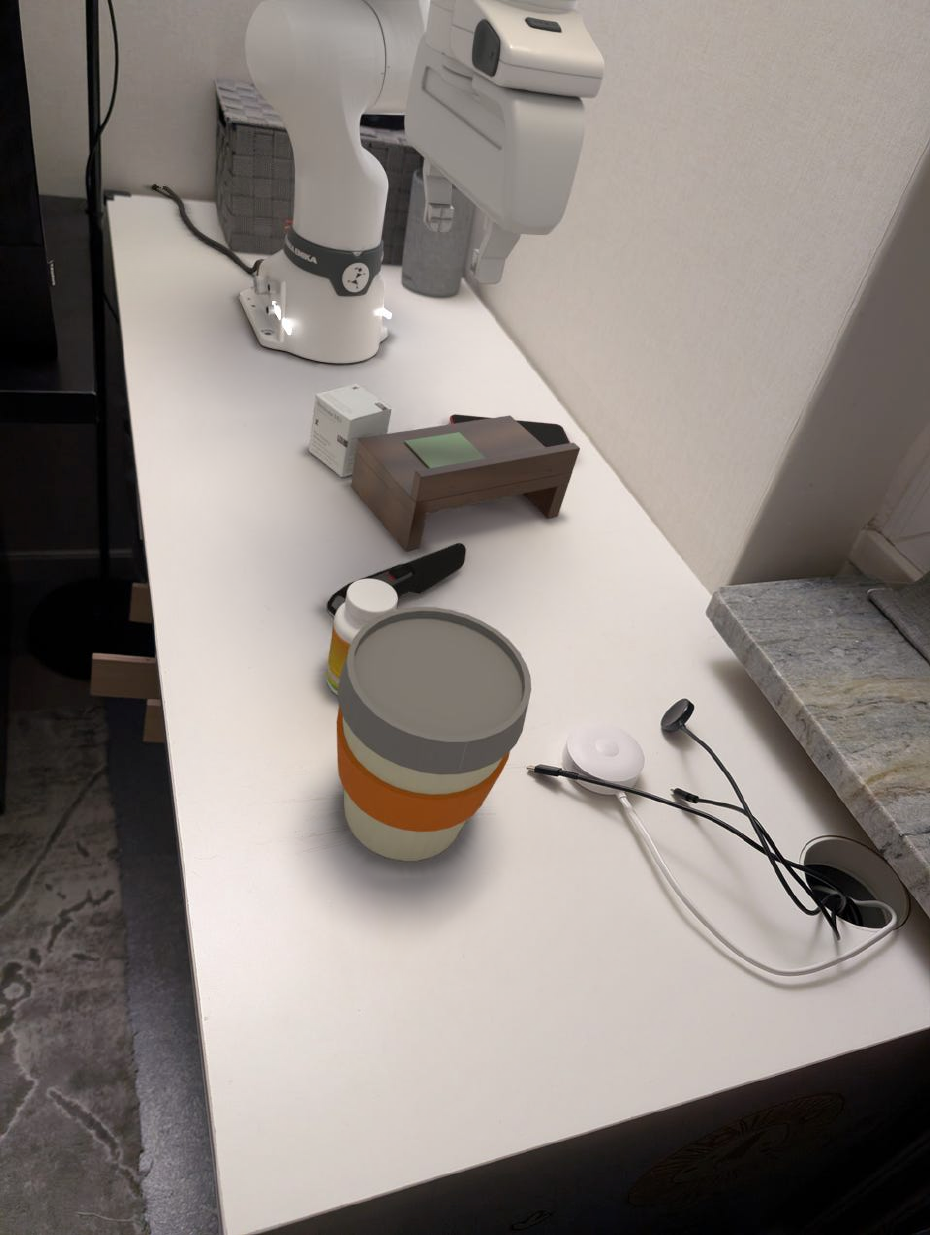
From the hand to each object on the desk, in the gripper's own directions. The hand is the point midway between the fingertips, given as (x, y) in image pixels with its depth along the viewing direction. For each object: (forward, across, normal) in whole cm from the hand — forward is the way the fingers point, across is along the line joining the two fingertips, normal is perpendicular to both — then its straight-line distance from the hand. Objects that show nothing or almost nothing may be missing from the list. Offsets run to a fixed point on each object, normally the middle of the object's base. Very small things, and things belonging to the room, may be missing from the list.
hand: (459, 253), depth 64 cm
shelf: (+32, -15, +12) cm, 37 cm away
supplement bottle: (+33, +9, -7) cm, 35 cm away
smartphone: (+32, -26, +24) cm, 48 cm away
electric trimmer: (+33, -1, 0) cm, 33 cm away
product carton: (+32, -24, +2) cm, 40 cm away
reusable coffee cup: (+33, +23, -7) cm, 41 cm away
